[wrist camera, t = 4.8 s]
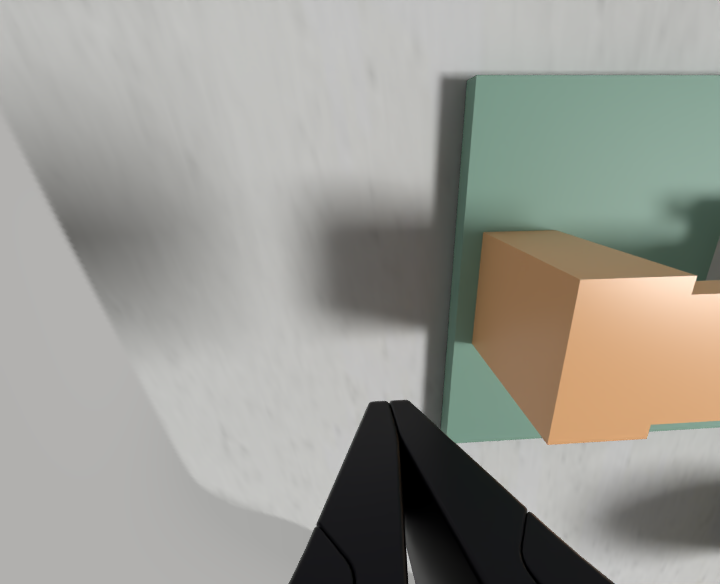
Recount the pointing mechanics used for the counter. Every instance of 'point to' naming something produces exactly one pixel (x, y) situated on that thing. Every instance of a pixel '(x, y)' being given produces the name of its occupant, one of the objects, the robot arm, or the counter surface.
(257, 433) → the counter surface
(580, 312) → the orange stepped block
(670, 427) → the heatsink board
